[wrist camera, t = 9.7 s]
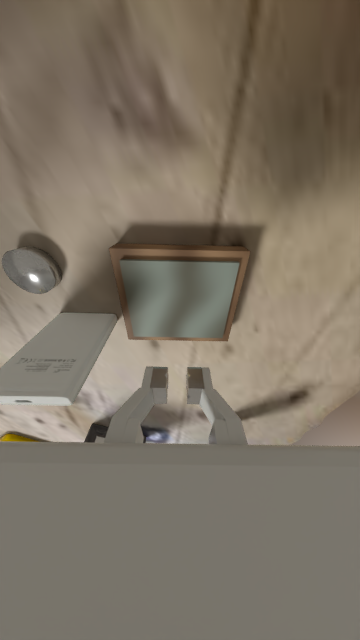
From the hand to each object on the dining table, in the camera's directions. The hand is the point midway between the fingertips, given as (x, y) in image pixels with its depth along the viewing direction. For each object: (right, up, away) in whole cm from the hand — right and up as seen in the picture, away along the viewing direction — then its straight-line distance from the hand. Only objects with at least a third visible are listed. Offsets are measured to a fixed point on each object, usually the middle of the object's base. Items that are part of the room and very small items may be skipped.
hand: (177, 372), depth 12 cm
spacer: (-17, +10, +8) cm, 21 cm away
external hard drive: (-13, +4, +13) cm, 19 cm away
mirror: (0, +7, +10) cm, 12 cm away
